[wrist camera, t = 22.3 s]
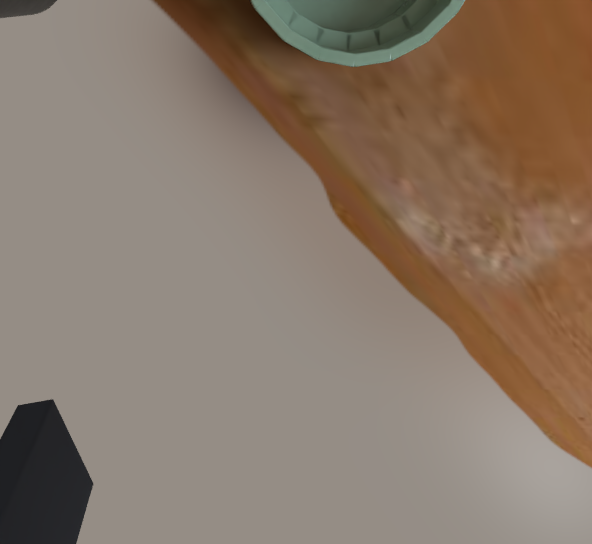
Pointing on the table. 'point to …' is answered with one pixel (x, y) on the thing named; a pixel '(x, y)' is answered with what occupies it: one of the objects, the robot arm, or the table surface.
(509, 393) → the table surface
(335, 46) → the bowl
